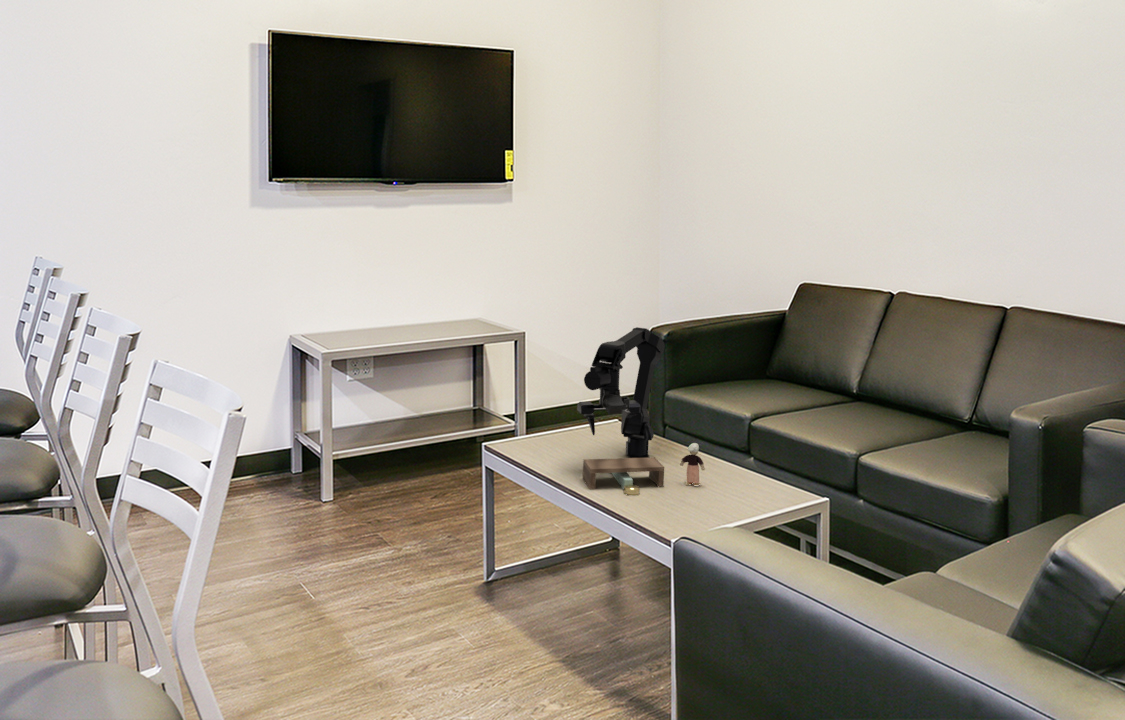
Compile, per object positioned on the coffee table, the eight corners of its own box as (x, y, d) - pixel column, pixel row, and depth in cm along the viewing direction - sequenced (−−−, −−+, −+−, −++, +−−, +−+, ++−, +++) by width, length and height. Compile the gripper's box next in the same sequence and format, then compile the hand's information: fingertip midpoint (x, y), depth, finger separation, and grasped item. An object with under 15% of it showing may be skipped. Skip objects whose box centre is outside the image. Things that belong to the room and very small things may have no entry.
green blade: (615, 469, 294) (616, 458, 294) (632, 491, 273) (632, 480, 272) (608, 469, 294) (608, 458, 293) (624, 491, 273) (624, 480, 272)
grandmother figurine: (705, 484, 281) (708, 443, 278) (703, 488, 277) (705, 446, 275) (680, 481, 283) (682, 440, 281) (677, 484, 279) (679, 443, 277)
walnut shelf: (653, 476, 287) (654, 457, 286) (663, 486, 277) (664, 467, 276) (582, 478, 283) (583, 459, 282) (590, 489, 273) (590, 469, 272)
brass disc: (637, 491, 273) (637, 484, 273) (640, 496, 269) (641, 489, 268) (622, 491, 272) (622, 484, 272) (625, 496, 268) (625, 489, 268)
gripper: (586, 391, 278) (584, 442, 281) (647, 389, 282) (645, 440, 285) (577, 383, 289) (576, 433, 291) (636, 382, 293) (634, 430, 296)
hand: (608, 434), depth 291 cm, fingers open, 9 cm apart
